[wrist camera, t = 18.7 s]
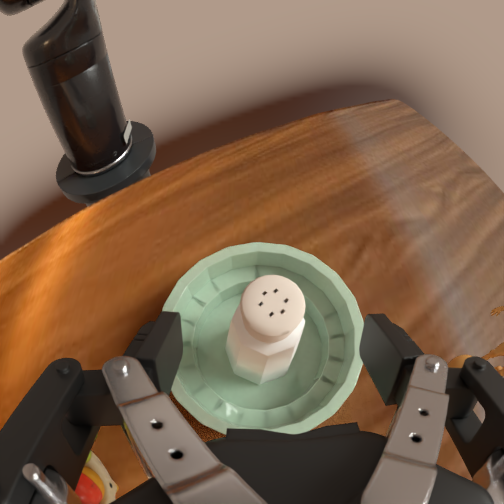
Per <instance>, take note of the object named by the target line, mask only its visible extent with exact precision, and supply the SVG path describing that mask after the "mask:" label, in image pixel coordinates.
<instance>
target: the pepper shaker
mask: <svg viewBox="0 0 504 504" xmlns="http://www.w3.org/2000/svg"><path fill="white" fill-rule="evenodd" d="M305 306H306V305H305V299H304V296H303V294H302V291H301V290H300V288H299V287H298V286H297V285H296V284H295V283H294V282H292V281H291V280H290V279H288V278H285V277H283V276H279V275H264V276H261V277H258V278H256V279H255V280H253V281H252V282H250V283H249V284H248V285H247V287H246V288H245V289H244V291H243V293H242V295H241V300H240V304H239V305H238V307H237V309H236V311H235V313H234V315H233V318H232V320H231V323H230V327H229V332H228V337H227V342H226V347H225V350H226V353H227V356H228V358H229V361H230V364H231V367H232V369H233V372H234V374H236V375H238V376H240V377H242V378H244V379H247V380H249V381H251V382H253V383H256V384H258V385H261V384H264V383H267V382H270V381H272V380H275V379H278V378H280V377H283V376H285V375H286V373H287V371H288V369H289V366H290V364H291V362H292V359H293V357H294V355H295V352H296V350H297V347H298V344H299V341H300V338H301V335H302V332H303V328H304V325H305V320H304V318H303V316H304V314H305Z"/></svg>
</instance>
